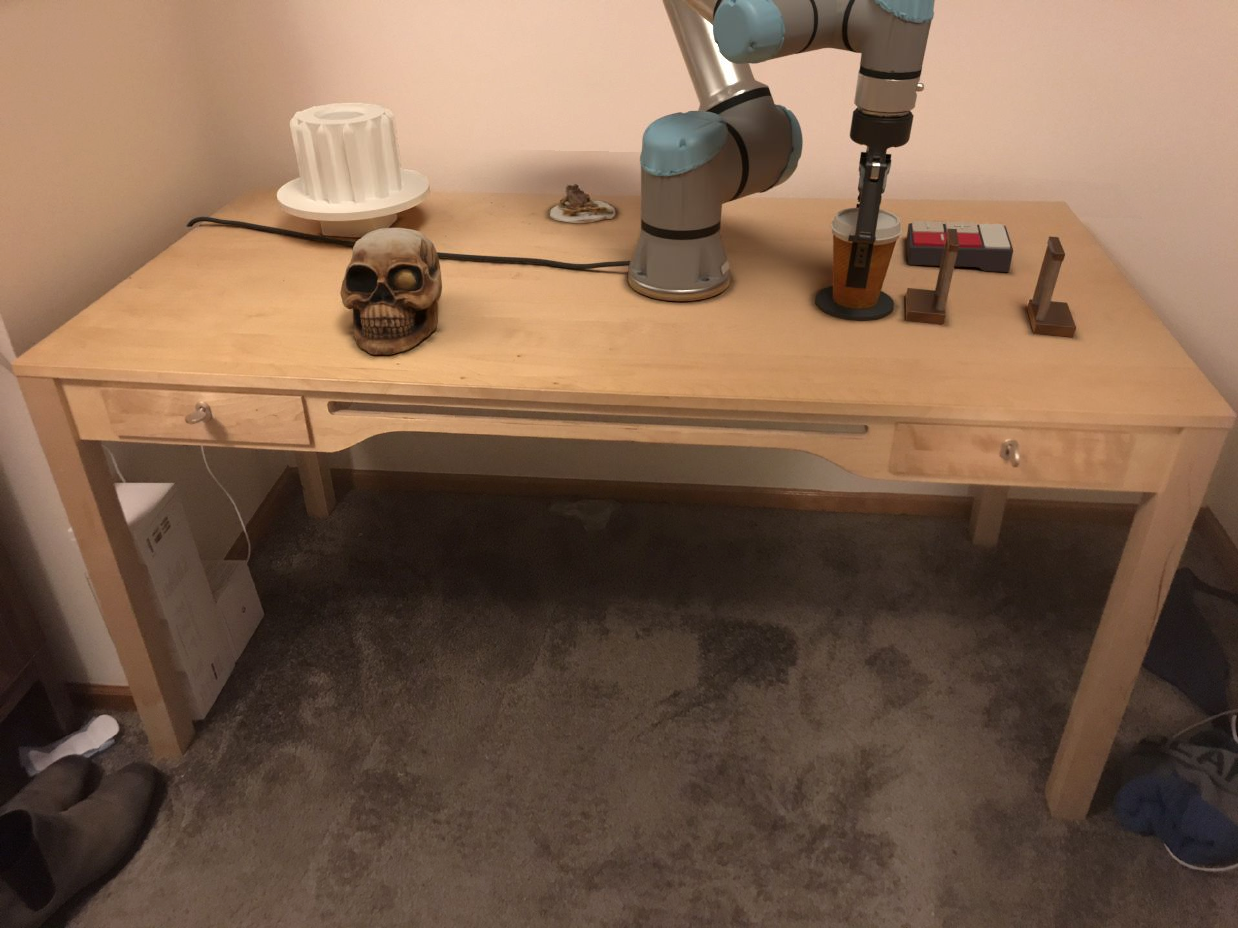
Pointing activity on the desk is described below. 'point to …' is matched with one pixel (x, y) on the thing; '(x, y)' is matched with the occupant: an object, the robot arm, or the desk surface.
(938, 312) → the bookends
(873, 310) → the coaster
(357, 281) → the brown skull
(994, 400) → the desk surface
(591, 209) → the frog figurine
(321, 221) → the ribbed cylinder on disc
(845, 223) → the disposable coffee cup
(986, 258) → the calculator
